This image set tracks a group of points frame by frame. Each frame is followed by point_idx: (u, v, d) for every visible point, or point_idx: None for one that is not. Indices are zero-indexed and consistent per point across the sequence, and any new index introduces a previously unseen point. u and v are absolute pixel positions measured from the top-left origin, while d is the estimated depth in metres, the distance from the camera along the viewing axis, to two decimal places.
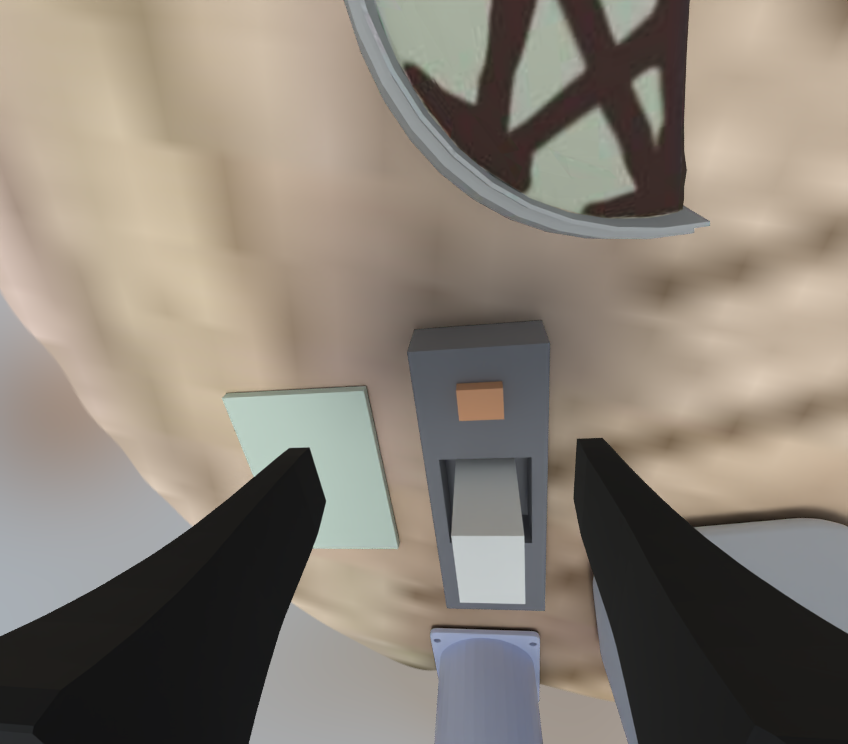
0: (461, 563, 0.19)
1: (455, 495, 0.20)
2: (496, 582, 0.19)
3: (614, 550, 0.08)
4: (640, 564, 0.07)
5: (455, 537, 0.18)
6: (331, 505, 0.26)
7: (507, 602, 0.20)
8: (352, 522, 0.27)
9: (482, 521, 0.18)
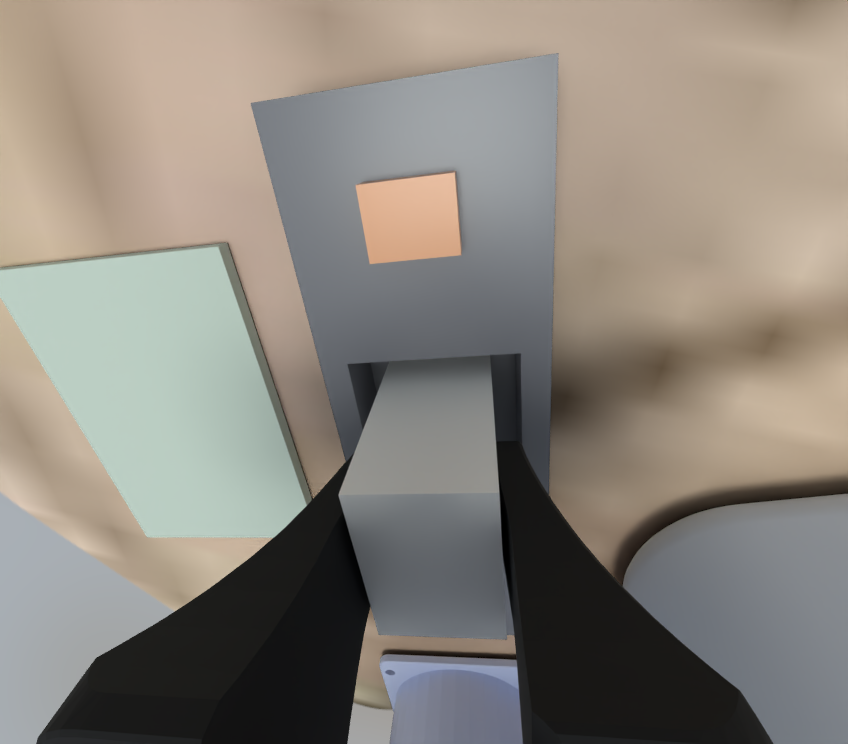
0: (369, 556, 0.09)
1: (369, 423, 0.10)
2: (446, 597, 0.09)
3: (508, 549, 0.09)
4: (514, 563, 0.07)
5: (347, 498, 0.08)
6: (205, 467, 0.17)
7: (470, 635, 0.10)
8: (241, 495, 0.17)
9: (410, 466, 0.09)
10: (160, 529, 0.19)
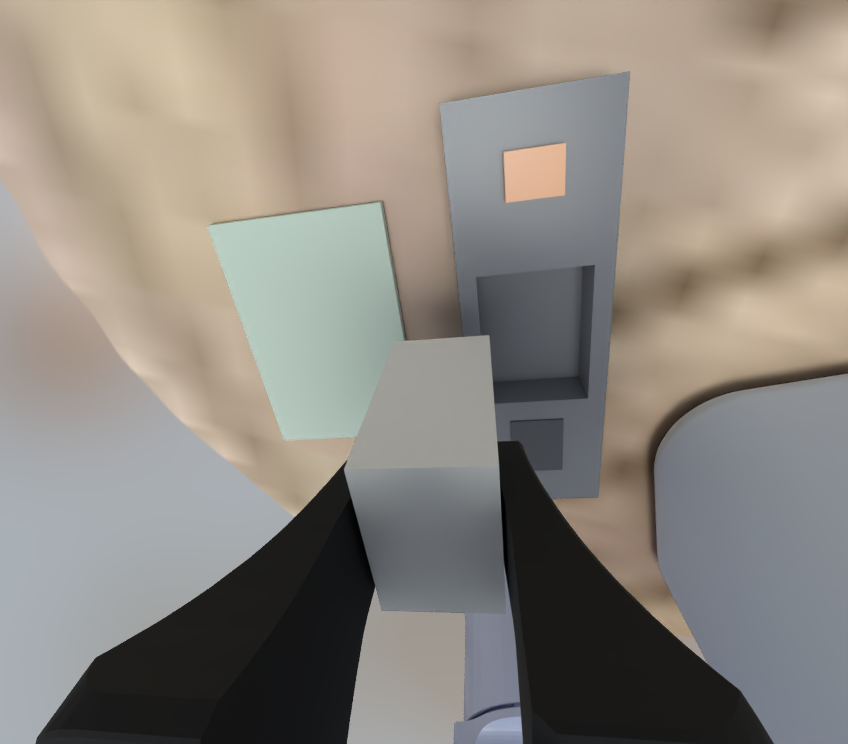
0: (373, 531, 0.09)
1: (372, 404, 0.10)
2: (447, 572, 0.10)
3: (508, 549, 0.09)
4: (514, 563, 0.07)
5: (353, 473, 0.08)
6: (341, 376, 0.22)
7: (470, 610, 0.10)
8: (365, 399, 0.23)
9: (413, 443, 0.09)
10: (296, 432, 0.24)
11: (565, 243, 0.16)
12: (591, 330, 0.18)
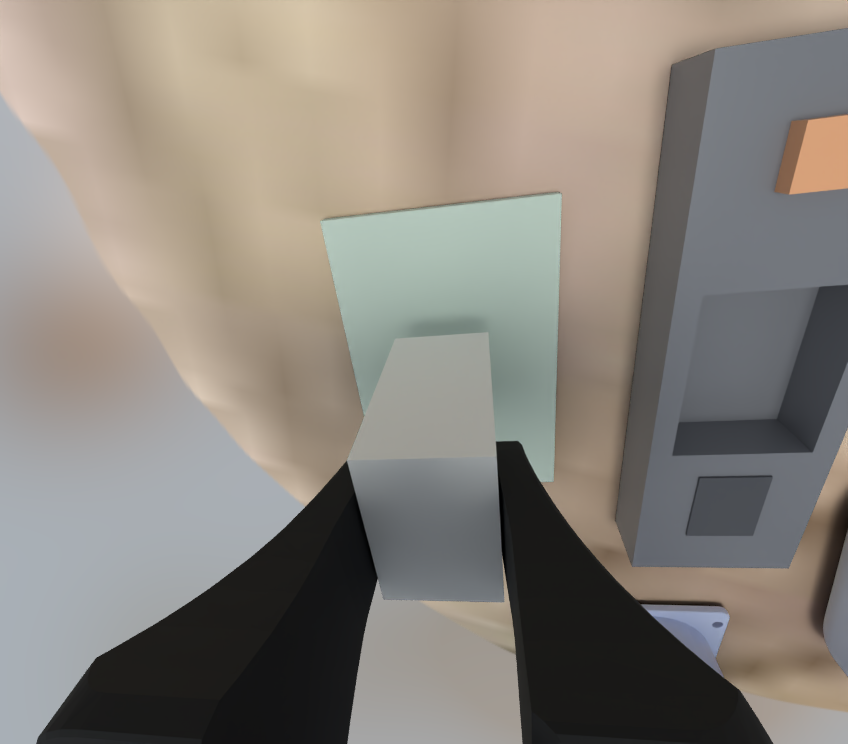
0: (375, 521, 0.09)
1: (374, 399, 0.11)
2: (447, 561, 0.10)
3: (508, 550, 0.09)
4: (513, 563, 0.07)
5: (355, 463, 0.09)
6: None
7: (469, 598, 0.10)
8: None
9: (414, 435, 0.09)
10: None
11: (844, 252, 0.12)
12: (843, 367, 0.13)
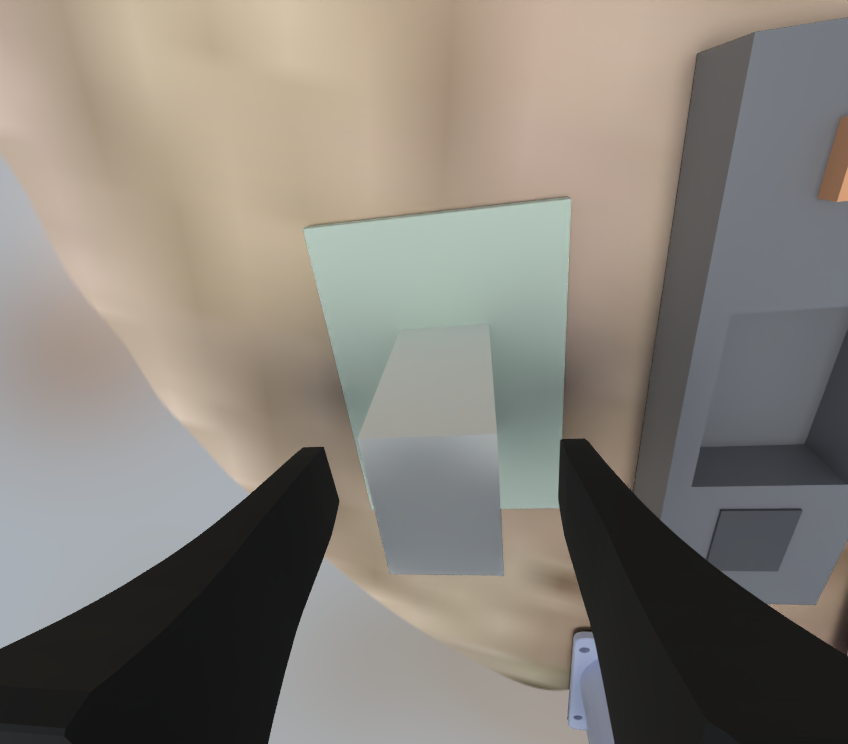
0: (383, 497, 0.10)
1: (381, 384, 0.11)
2: (450, 536, 0.10)
3: (592, 550, 0.08)
4: (614, 564, 0.07)
5: (365, 441, 0.09)
6: None
7: (471, 572, 0.11)
8: None
9: (420, 416, 0.10)
10: None
11: None
12: None
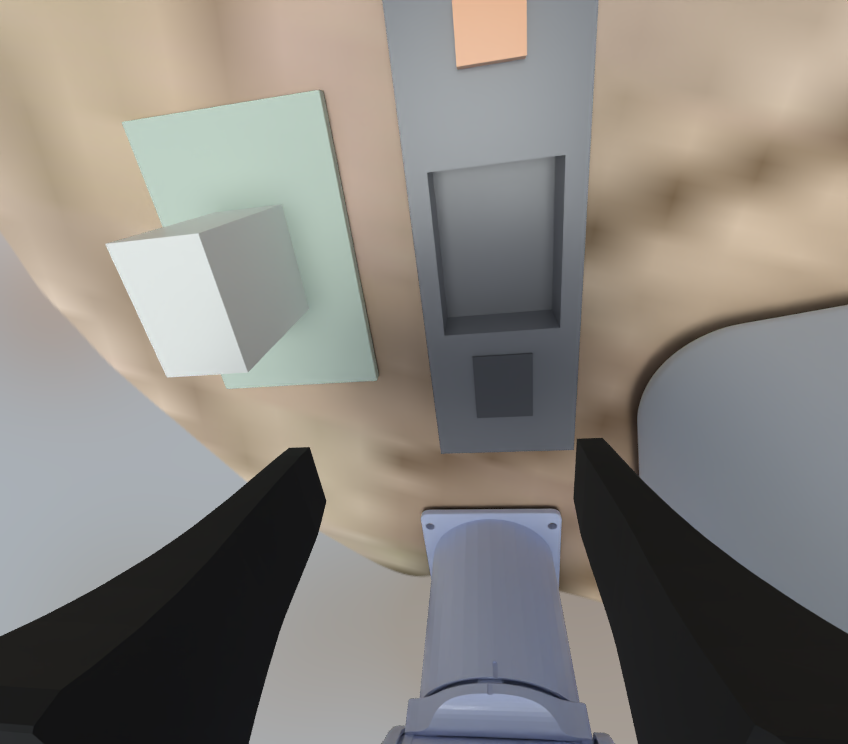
0: (139, 299, 0.13)
1: None
2: (197, 334, 0.14)
3: (614, 550, 0.08)
4: (640, 564, 0.07)
5: (111, 246, 0.13)
6: None
7: (223, 370, 0.14)
8: (314, 338, 0.20)
9: (161, 234, 0.13)
10: (239, 379, 0.22)
11: (530, 126, 0.13)
12: (562, 241, 0.15)
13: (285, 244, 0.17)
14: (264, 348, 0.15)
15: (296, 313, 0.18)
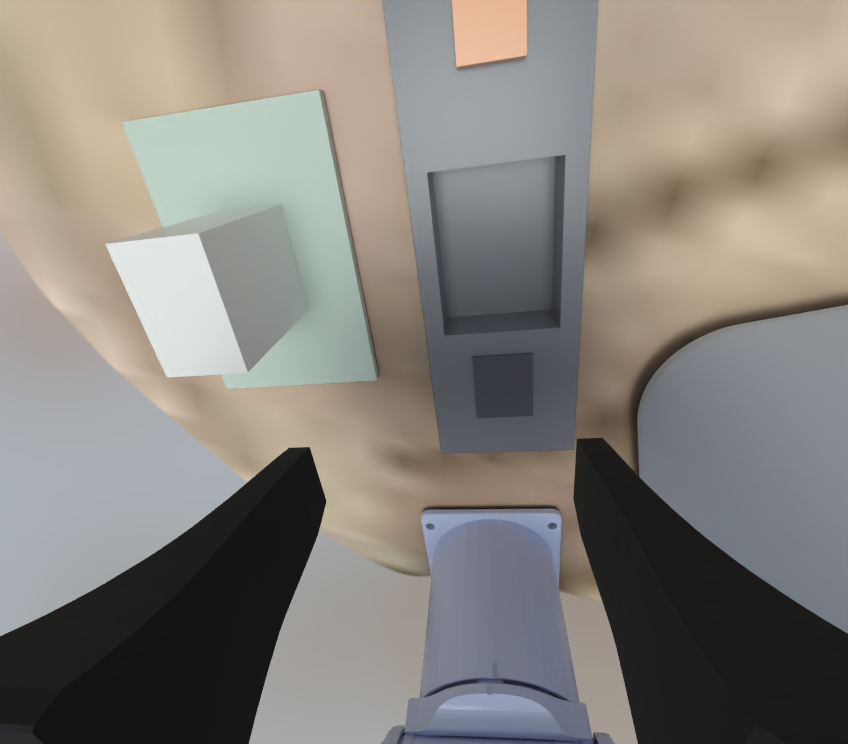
0: (139, 299, 0.13)
1: None
2: (197, 334, 0.14)
3: (614, 550, 0.08)
4: (640, 564, 0.07)
5: (111, 246, 0.13)
6: None
7: (223, 370, 0.14)
8: (314, 338, 0.20)
9: (161, 234, 0.13)
10: (239, 379, 0.22)
11: (530, 126, 0.13)
12: (563, 241, 0.15)
13: (285, 244, 0.17)
14: (264, 348, 0.15)
15: (296, 313, 0.18)
